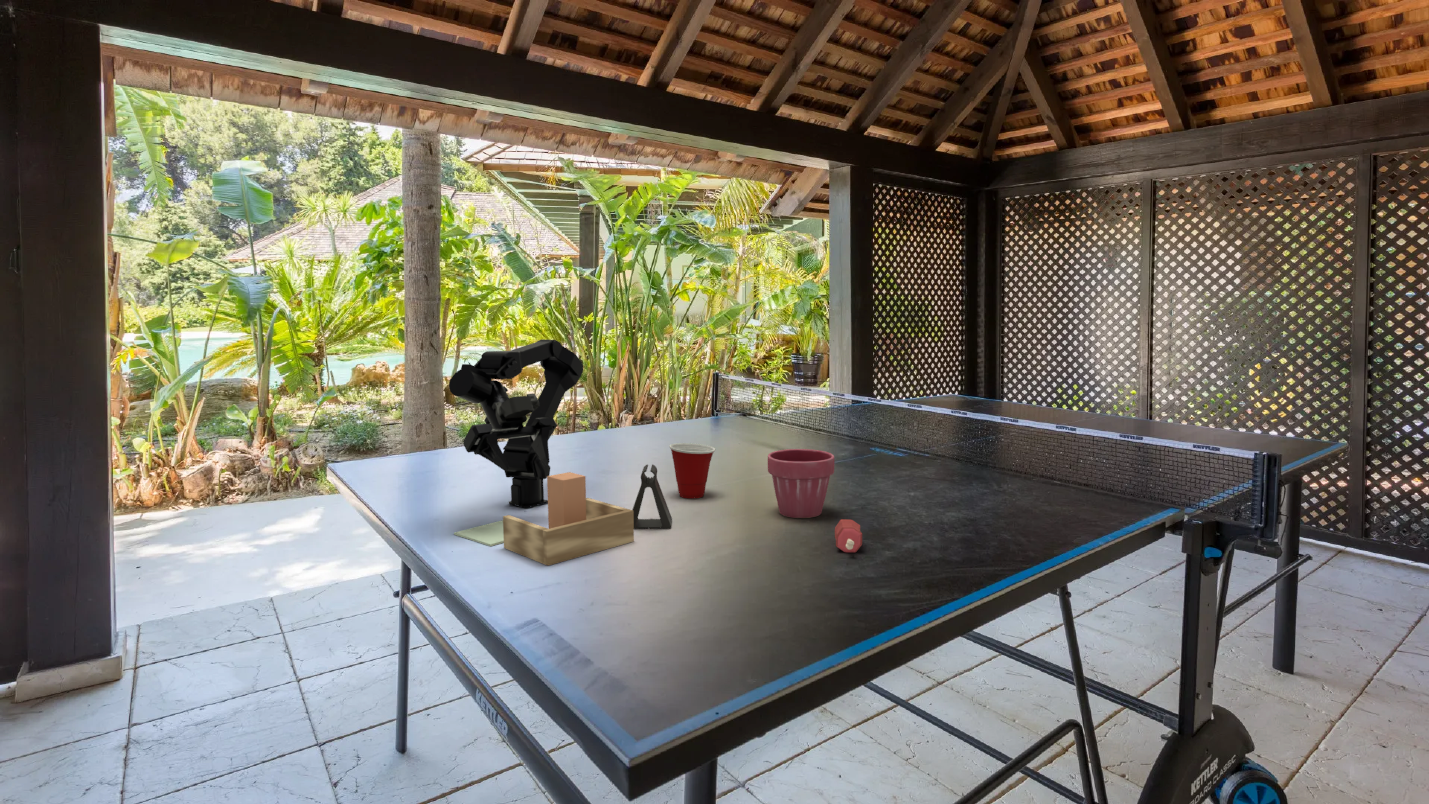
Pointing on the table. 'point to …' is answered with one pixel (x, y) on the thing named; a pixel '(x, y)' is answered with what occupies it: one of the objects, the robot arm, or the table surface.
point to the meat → (848, 536)
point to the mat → (485, 534)
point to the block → (566, 499)
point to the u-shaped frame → (571, 534)
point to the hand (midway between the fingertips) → (528, 466)
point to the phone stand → (660, 501)
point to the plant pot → (800, 480)
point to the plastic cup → (691, 468)
